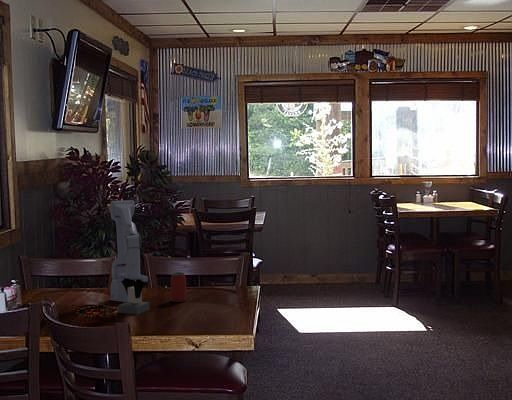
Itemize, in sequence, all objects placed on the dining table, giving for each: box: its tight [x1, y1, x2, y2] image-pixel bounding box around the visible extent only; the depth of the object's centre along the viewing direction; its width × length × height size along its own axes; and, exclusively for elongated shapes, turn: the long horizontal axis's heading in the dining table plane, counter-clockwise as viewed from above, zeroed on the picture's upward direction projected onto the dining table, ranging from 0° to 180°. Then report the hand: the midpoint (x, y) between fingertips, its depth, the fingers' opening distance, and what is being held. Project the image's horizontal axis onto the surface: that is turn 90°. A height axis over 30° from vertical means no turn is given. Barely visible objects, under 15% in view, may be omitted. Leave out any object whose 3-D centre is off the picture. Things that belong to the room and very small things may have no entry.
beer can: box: [170, 272, 187, 303], centre depth 296 cm, size 7×7×12 cm
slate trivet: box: [117, 301, 151, 315], centre depth 278 cm, size 9×9×3 cm
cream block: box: [127, 286, 143, 303], centre depth 278 cm, size 4×4×6 cm
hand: (133, 297), depth 278 cm, fingers closed on cream block, 4 cm apart
